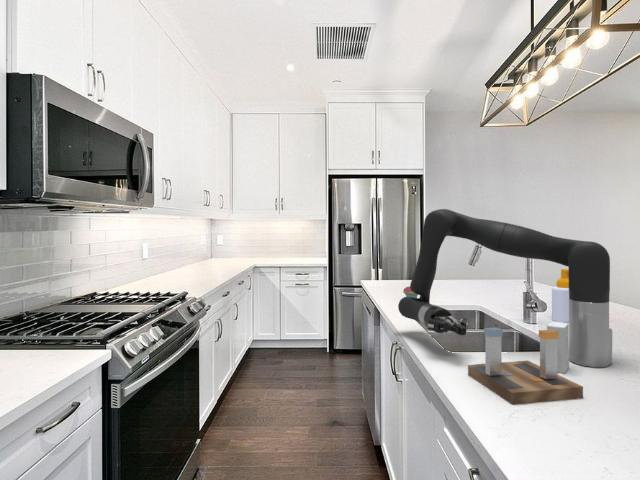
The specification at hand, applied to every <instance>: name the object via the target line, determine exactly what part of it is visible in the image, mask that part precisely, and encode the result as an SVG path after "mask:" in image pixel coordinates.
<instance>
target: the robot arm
mask: <svg viewBox="0 0 640 480" xmlns="http://www.w3.org/2000/svg"><path fill="white" fill-rule="evenodd" d="M421 236H422V237H421V243H420V249H419V252H418V253H419V254H418V258H417V261H416V264H415V267H414V272H413V274H412V278H411V281H410V283H409V284H410V285H409V286H410V289H411V291H412V292H414V293H416V294H418V296H419V297H417V298H413V297H406V296H404V297H402V298H401V299H400V300H399V302H398V306H397V307H398V308H397V309H398V311H399V313H400V314H401V316H403V317H404V318H407V319H410V320H414V321H417V322H419V323H420V324H422V325H423V326H424V327H426V328H427V330H429V331H433V332H435V333H437V334H444V333H445V334H446V333H452V334H453V333H454V334H456V335H459V336H466V334H467V329H468V327H469V326H468V322H469V321H468V318H461V319H460V320H459V318H456V317H454V316H453V315H452V314H451V312H450V311H449V310H448V309H446V308H443V307H441V306H438V305H436V304H432V303H430V297H431V290H432V286H433V283H434V280H435V277H436V272H437V268H438V267H437V266H438V265H437V263H438V257H439V253H440V249H441V247H442V245H443V242H444V241H445V238H446V237H454V238H461V239H464V240H469V241H472V242H475V243H476V244H478V245H480V246H482V247H484V248H486V249H489V250H491V251H494V252H497V253H500V254H504V255H508V256H513V257H517V258H526V259H533V260H541V261H549V262H552V263H556V264H559V265H562V266H565V267H568V269H569V323H568V324H569V362H571V363H574V364H576V365H580V366H584V367H589V368H590V367H592V368H607V367H609V365H613V330H612V328H610V291H611V290H610V289H611V282H610V281H611V262H610V261H611V259H610V257H611V256H610V253H609V252H608V250H607V249H606V248H605V246H603V245H602V244H600V243H598V242H596V241H595V242H594V241H588V240H587V241H585V240H578V239H577V240H576V239H570V238H563V237H559V236H558V237H557V236H554V235H550V234H548V233H545V232H541V231H539V230H536V229H532V228H529V227H525V226H522V225H519V224H513V223H509V222H502V221H497V220H491V219H483V218H482V219H481V218H477V217H471V216H468V215H465V214H462V213H459V212H456V211H454V210H451V209H448V208H447V209H446V208H440V209H435V210H432V211H430V212H429V213H428V214H427V215H426V216H425V218H424V221H423V228H422V235H421Z"/></svg>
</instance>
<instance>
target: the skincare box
mask: <svg viewBox="0 0 640 480" xmlns="http://www.w3.org/2000/svg"><path fill="white" fill-rule="evenodd" d="M546 330H555V331H558V332H559V339H557V374H558V373H559V374H566V373H567V371H568V369H569V367H570V360H569V323H562V322H555V321H553V320H552V321H549V323H548V324H547V325H546Z"/></svg>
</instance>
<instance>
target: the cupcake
mask: <svg viewBox="0 0 640 480" xmlns="http://www.w3.org/2000/svg"><path fill="white" fill-rule="evenodd" d="M402 292H403V294H404V295H405V297H413V298H418V296H419V295H418V294H416V293H414V292H412V291H411V289H410V285H409V286H406V287H404V289H403V291H402Z"/></svg>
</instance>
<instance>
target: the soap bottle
mask: <svg viewBox="0 0 640 480" xmlns="http://www.w3.org/2000/svg"><path fill="white" fill-rule="evenodd" d="M551 320H552V321H554V322H562V323H568V324H569V268H567V269H566V268H561V269H560V278H558V279H557V280H556V285H555V286H552V287H551Z"/></svg>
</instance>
